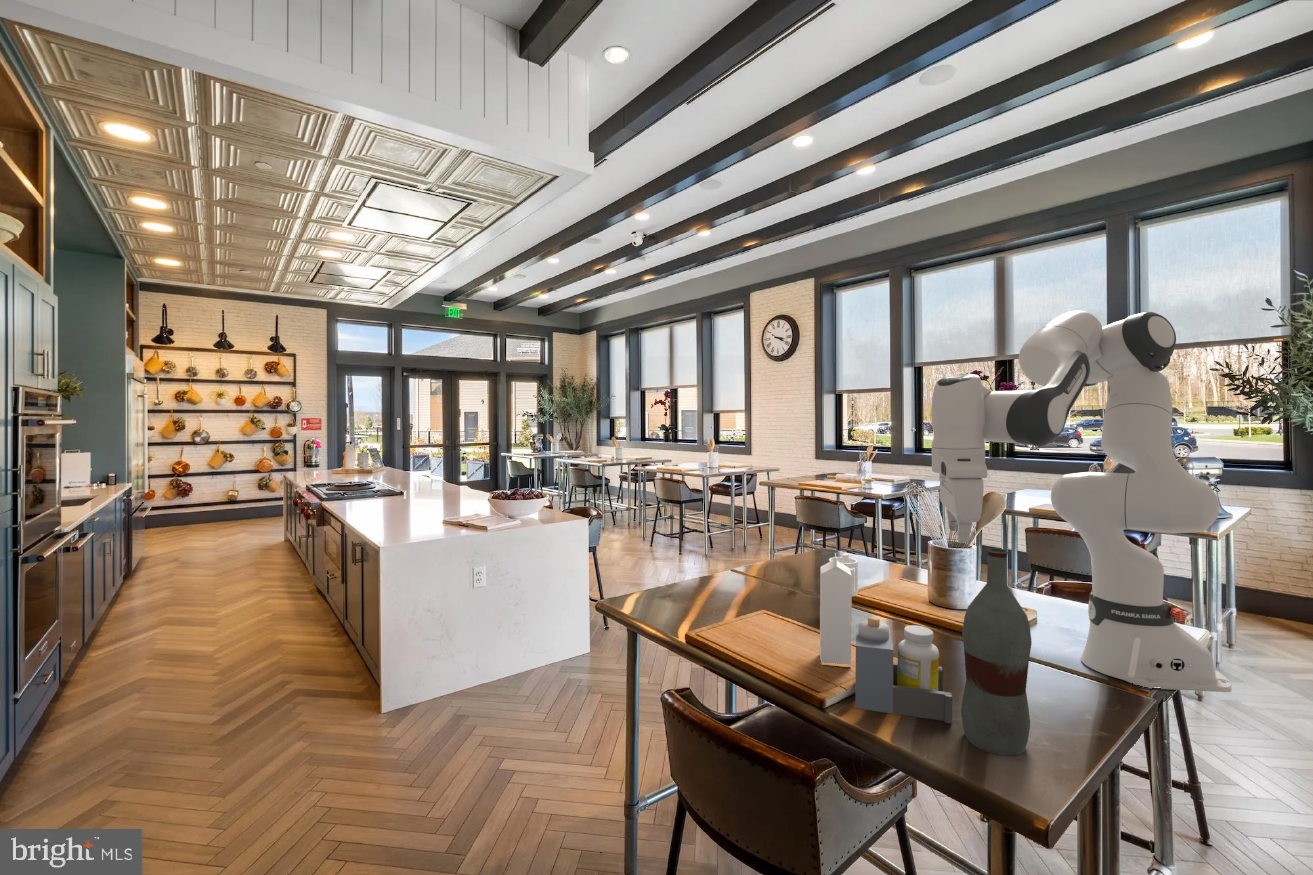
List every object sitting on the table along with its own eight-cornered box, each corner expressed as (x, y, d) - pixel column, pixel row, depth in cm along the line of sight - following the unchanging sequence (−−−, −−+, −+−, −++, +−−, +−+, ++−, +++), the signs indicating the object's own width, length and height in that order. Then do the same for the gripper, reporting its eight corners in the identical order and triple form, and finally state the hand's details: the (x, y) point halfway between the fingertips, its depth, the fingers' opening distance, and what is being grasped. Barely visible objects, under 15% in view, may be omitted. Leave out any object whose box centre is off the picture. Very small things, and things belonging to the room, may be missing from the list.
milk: (820, 665, 120) (820, 558, 119) (819, 654, 126) (819, 551, 125) (852, 668, 119) (852, 559, 118) (849, 656, 124) (849, 552, 124)
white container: (860, 612, 152) (860, 554, 152) (853, 620, 146) (854, 560, 146) (833, 607, 156) (833, 551, 156) (825, 615, 150) (825, 556, 150)
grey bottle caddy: (939, 683, 112) (940, 609, 111) (951, 723, 97) (952, 638, 97) (855, 673, 116) (856, 601, 116) (855, 709, 102) (856, 628, 101)
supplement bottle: (929, 692, 108) (932, 623, 107) (943, 711, 101) (946, 638, 100) (891, 690, 109) (893, 622, 108) (902, 709, 102) (905, 636, 101)
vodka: (962, 749, 90) (965, 553, 88) (958, 721, 98) (961, 541, 97) (1035, 764, 86) (1038, 559, 85) (1024, 733, 94) (1028, 546, 93)
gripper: (931, 456, 120) (932, 523, 121) (948, 469, 101) (949, 549, 102) (965, 456, 118) (966, 524, 119) (989, 469, 99) (990, 550, 100)
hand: (958, 535), depth 110 cm, fingers open, 8 cm apart
